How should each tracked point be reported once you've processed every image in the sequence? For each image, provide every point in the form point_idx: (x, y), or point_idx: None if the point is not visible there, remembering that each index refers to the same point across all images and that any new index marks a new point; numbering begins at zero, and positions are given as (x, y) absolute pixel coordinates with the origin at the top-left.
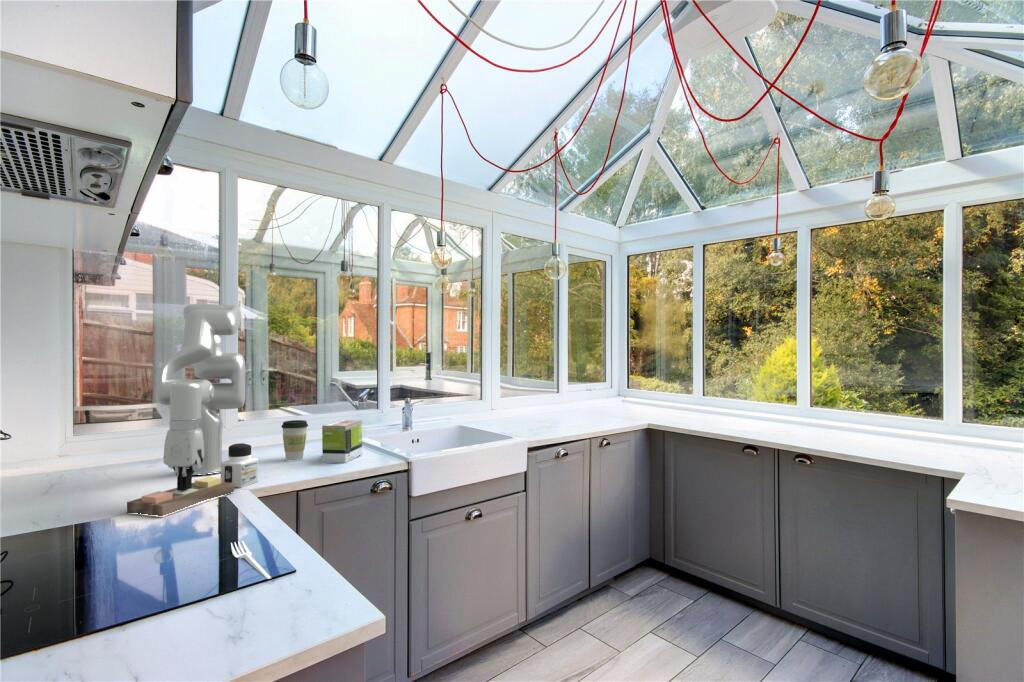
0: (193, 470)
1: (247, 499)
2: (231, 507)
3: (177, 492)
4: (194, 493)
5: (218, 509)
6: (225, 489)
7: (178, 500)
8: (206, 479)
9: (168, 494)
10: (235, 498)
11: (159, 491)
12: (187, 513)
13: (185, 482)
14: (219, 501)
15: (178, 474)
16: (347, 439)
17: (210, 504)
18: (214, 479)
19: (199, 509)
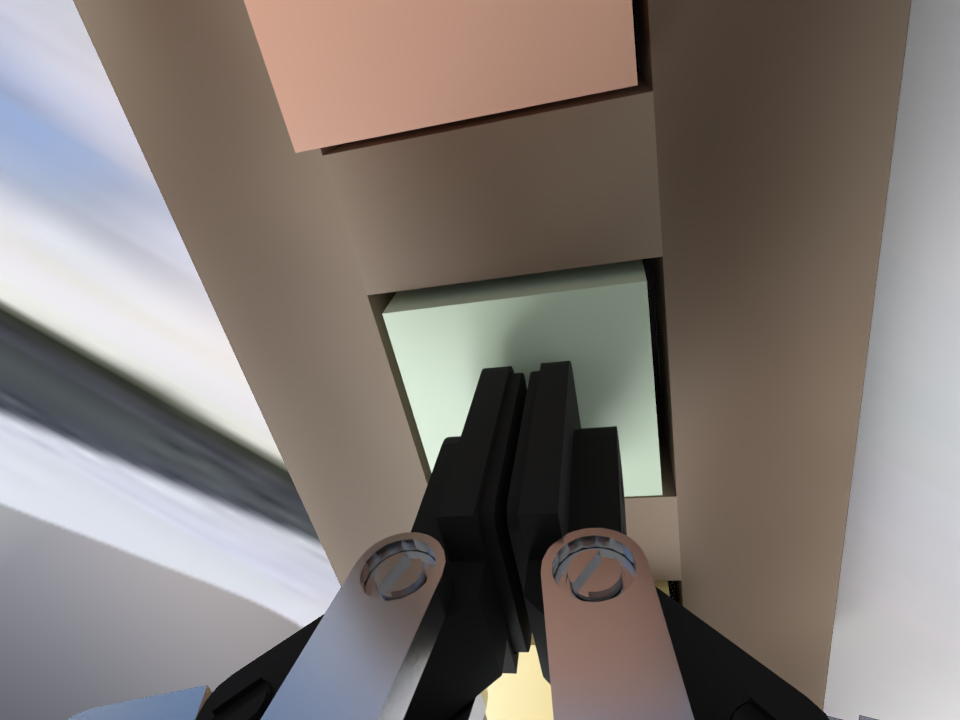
0: (183, 695)
1: (158, 552)
2: (13, 389)
3: (535, 329)
4: (329, 397)
5: (23, 314)
6: None
7: (133, 100)
8: None
9: (270, 59)
10: (257, 547)
11: (617, 86)
12: (83, 95)
13: (442, 478)
14: (274, 463)
15: (549, 565)
16: None
17: (241, 383)
18: (510, 717)
19: (147, 243)
